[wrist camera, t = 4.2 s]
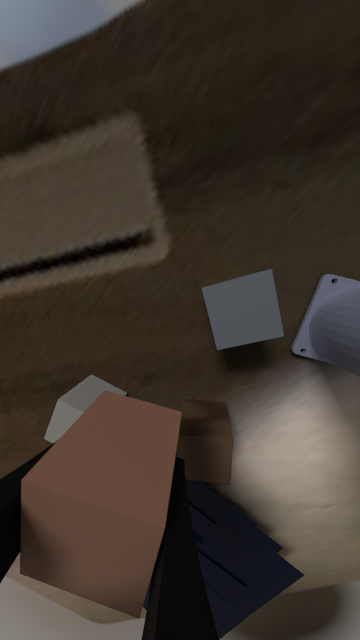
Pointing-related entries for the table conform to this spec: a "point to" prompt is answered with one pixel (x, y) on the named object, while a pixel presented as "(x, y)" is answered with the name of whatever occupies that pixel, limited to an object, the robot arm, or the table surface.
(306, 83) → the table surface
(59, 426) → the offwhite cube
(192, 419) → the walnut cube
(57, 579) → the terracotta cube
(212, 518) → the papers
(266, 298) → the slate cube
